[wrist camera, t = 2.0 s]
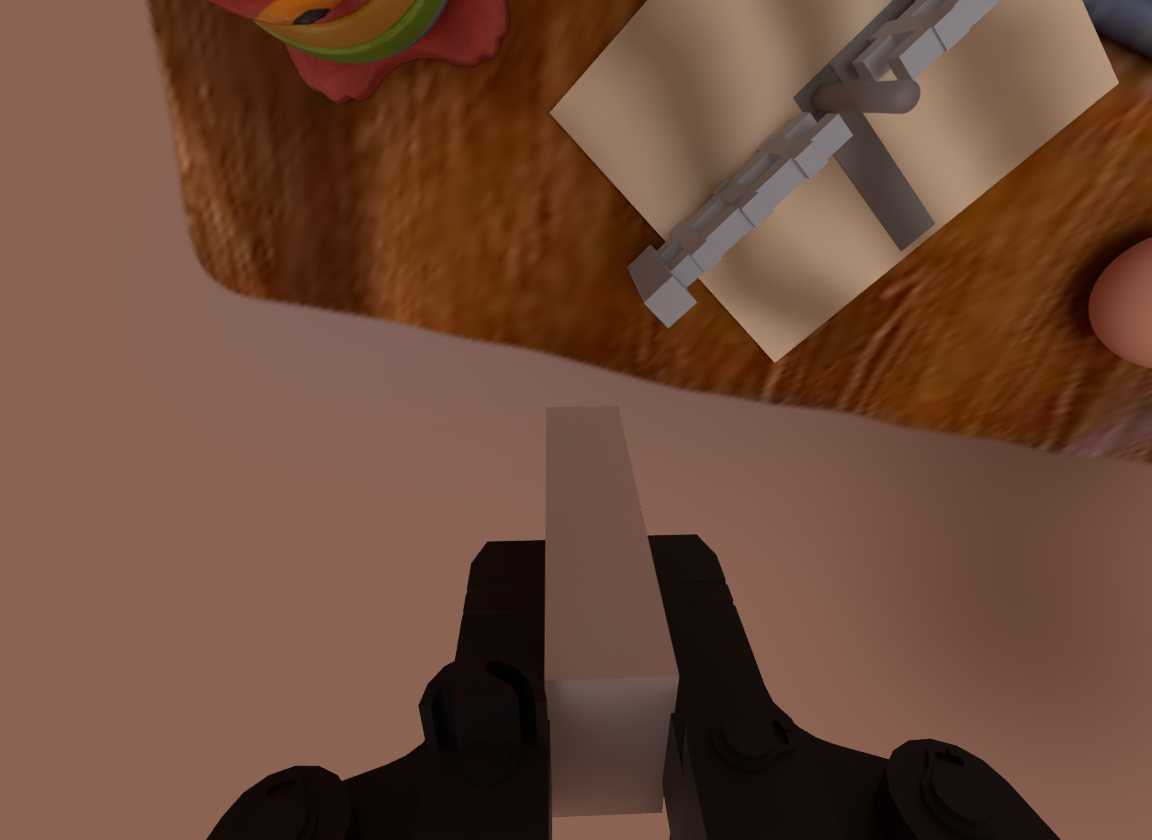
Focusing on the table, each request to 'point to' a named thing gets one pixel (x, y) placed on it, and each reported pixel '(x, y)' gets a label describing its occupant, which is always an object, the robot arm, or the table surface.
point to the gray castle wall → (734, 212)
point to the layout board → (784, 89)
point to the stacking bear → (375, 36)
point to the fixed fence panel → (902, 57)
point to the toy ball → (1125, 305)
